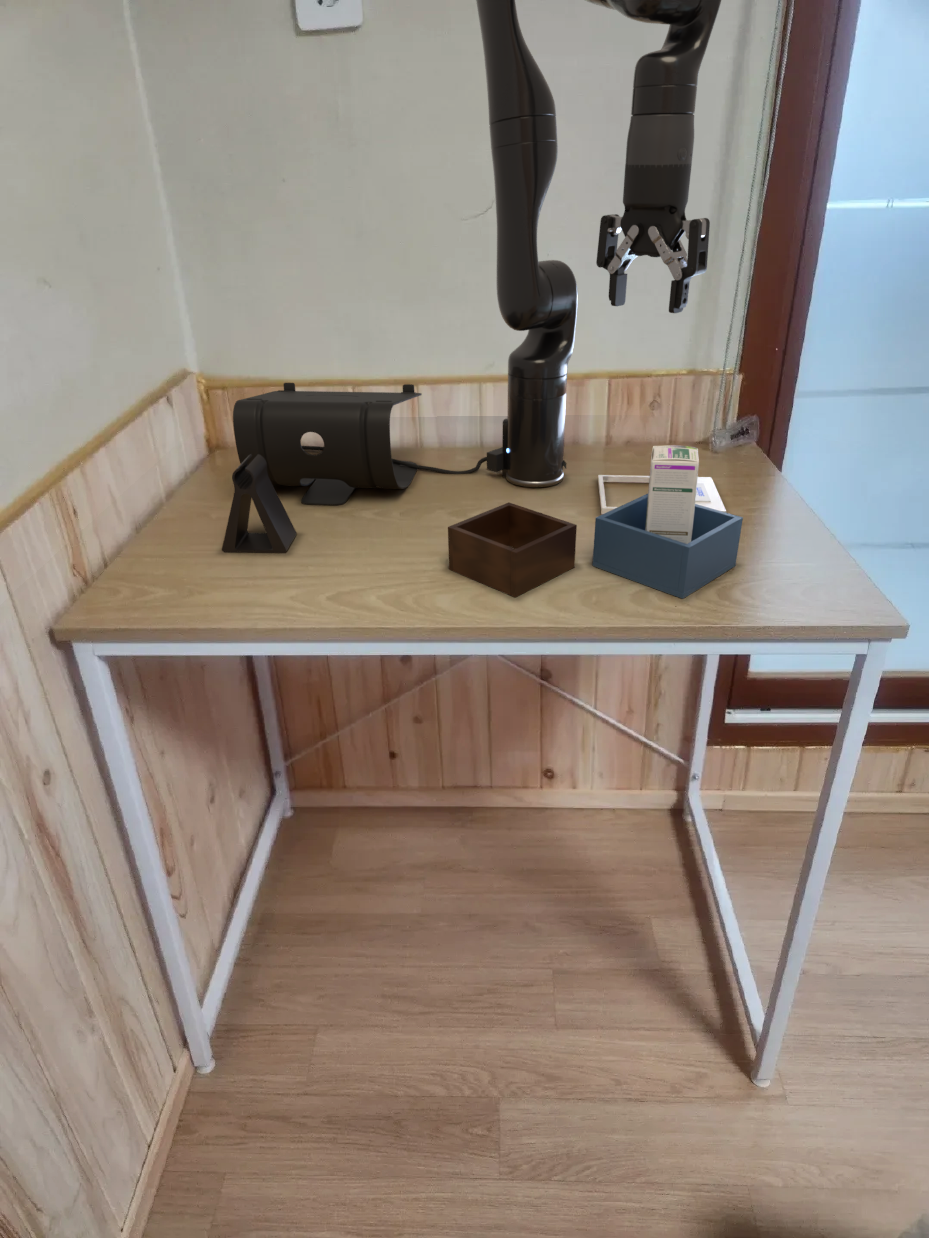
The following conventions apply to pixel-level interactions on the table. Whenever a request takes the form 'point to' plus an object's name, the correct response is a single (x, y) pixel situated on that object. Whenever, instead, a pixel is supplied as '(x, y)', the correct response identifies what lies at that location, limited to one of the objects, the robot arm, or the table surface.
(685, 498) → the syrup box
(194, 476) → the table surface
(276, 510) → the phone stand
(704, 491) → the photo frame
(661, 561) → the blue tote
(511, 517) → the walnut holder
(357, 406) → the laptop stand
